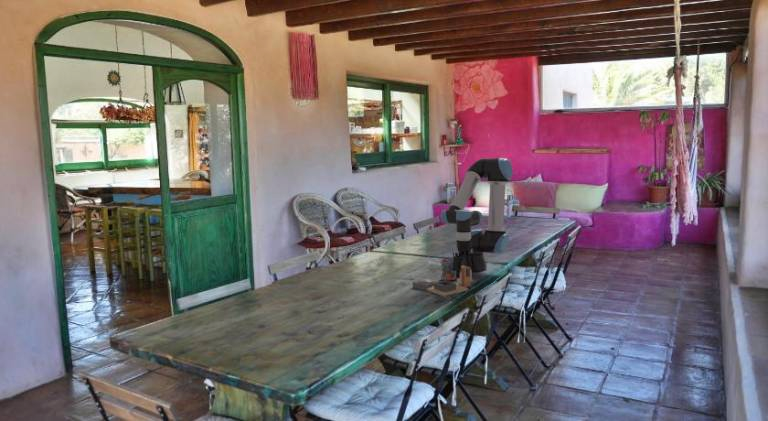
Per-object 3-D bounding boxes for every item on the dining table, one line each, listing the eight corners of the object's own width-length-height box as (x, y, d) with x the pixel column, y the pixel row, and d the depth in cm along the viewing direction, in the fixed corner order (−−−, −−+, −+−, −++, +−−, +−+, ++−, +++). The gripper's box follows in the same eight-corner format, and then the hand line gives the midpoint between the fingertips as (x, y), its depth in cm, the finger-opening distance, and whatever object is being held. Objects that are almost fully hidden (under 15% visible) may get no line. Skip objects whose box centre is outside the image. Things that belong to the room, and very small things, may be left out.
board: (447, 284, 304) (447, 276, 303) (467, 290, 291) (467, 282, 290) (423, 289, 295) (423, 281, 295) (443, 296, 282) (443, 287, 281)
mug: (451, 282, 307) (451, 263, 305) (436, 280, 313) (436, 261, 311) (462, 277, 316) (462, 259, 315) (448, 275, 322) (448, 257, 320)
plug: (464, 283, 303) (463, 265, 302) (471, 286, 299) (471, 267, 298) (458, 285, 301) (458, 266, 300) (465, 287, 297) (465, 268, 295)
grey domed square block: (425, 283, 307) (425, 276, 306) (439, 286, 300) (439, 279, 299) (412, 287, 300) (412, 280, 299) (426, 290, 293) (426, 283, 292)
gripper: (472, 236, 305) (473, 278, 309) (444, 241, 295) (445, 284, 298) (482, 238, 299) (482, 281, 302) (454, 243, 289) (455, 287, 292)
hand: (464, 282), depth 300 cm, fingers open, 6 cm apart
